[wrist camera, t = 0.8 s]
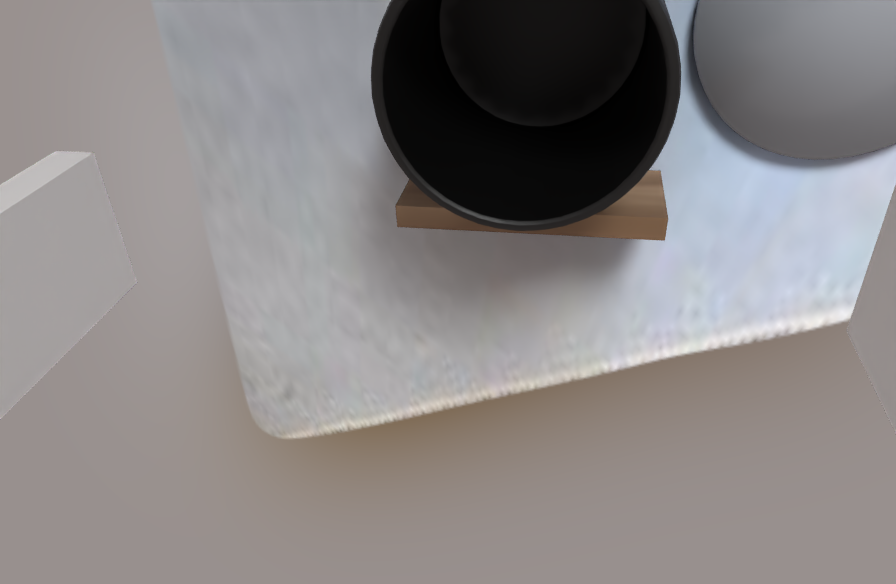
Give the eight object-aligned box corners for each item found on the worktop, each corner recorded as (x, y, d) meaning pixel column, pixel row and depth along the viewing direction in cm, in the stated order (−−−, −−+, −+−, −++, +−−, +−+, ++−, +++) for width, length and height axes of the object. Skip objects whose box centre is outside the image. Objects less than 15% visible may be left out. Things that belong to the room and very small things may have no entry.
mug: (682, -202, 24) (717, -210, 17) (649, 135, 30) (663, 237, 23) (412, -181, 26) (335, -179, 18) (436, 134, 32) (386, 229, 25)
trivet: (718, -149, 24) (721, -148, 24) (1078, -163, 23) (1088, -162, 22) (675, 149, 31) (676, 155, 30) (955, 158, 29) (961, 163, 28)
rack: (388, -272, 24) (350, -286, 21) (723, -297, 22) (747, -318, 19) (419, 182, 34) (397, 226, 30) (657, 191, 32) (664, 240, 28)
